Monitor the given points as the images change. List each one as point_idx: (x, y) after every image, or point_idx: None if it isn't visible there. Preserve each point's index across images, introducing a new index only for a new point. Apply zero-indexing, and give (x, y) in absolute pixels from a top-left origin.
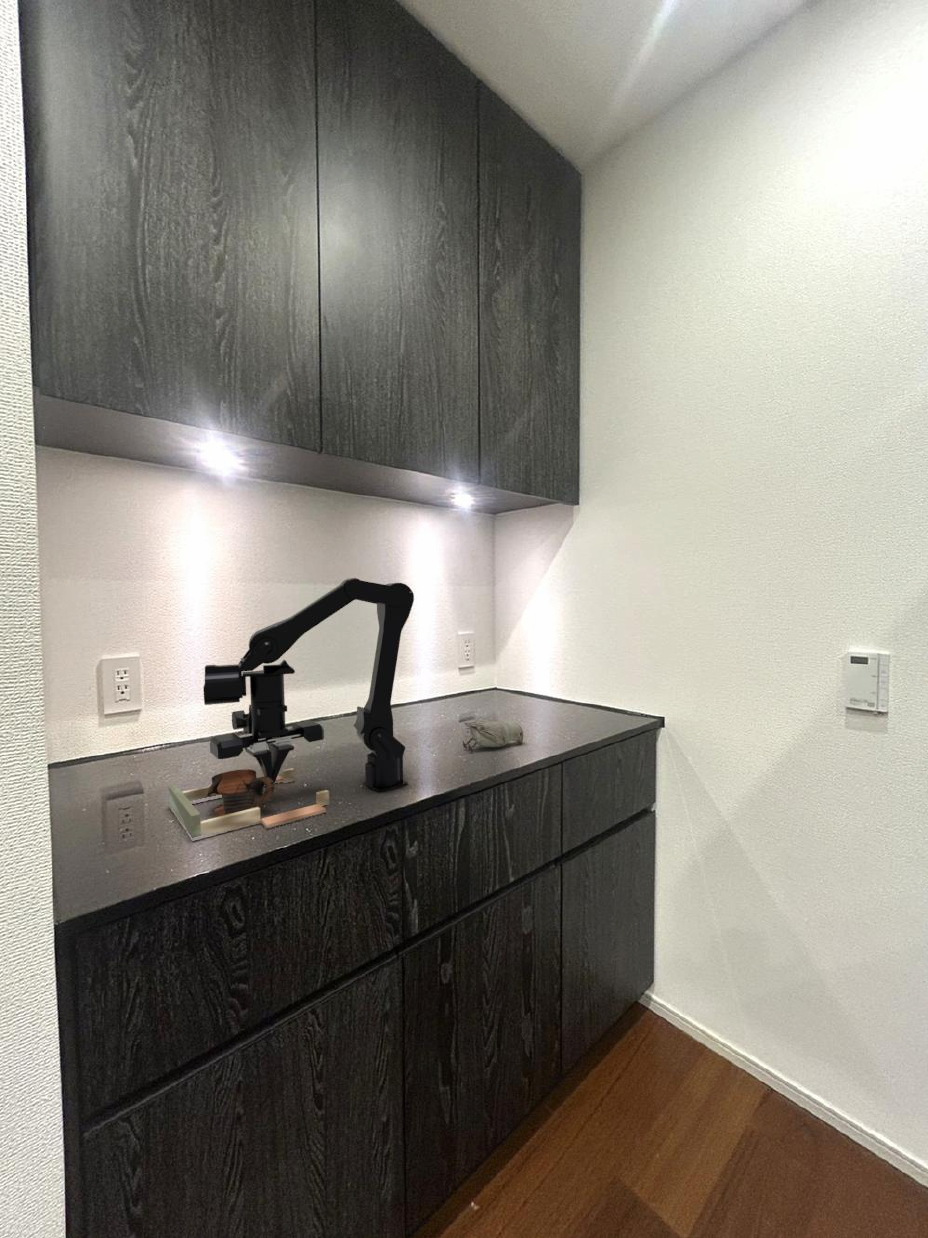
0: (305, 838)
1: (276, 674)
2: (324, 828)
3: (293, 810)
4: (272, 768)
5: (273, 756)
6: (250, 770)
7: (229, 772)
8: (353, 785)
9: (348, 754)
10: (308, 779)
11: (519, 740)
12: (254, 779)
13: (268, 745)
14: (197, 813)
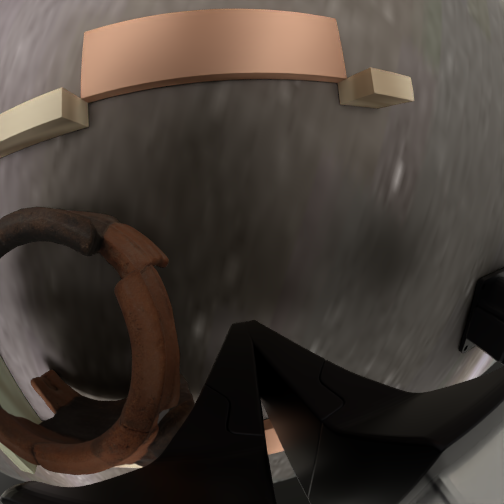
0: None
1: None
2: (291, 470)
3: (266, 431)
4: (278, 419)
5: (318, 483)
6: (125, 457)
7: (20, 453)
8: (464, 275)
9: (498, 39)
10: (418, 125)
11: None
12: (153, 459)
13: (403, 460)
14: (26, 468)
